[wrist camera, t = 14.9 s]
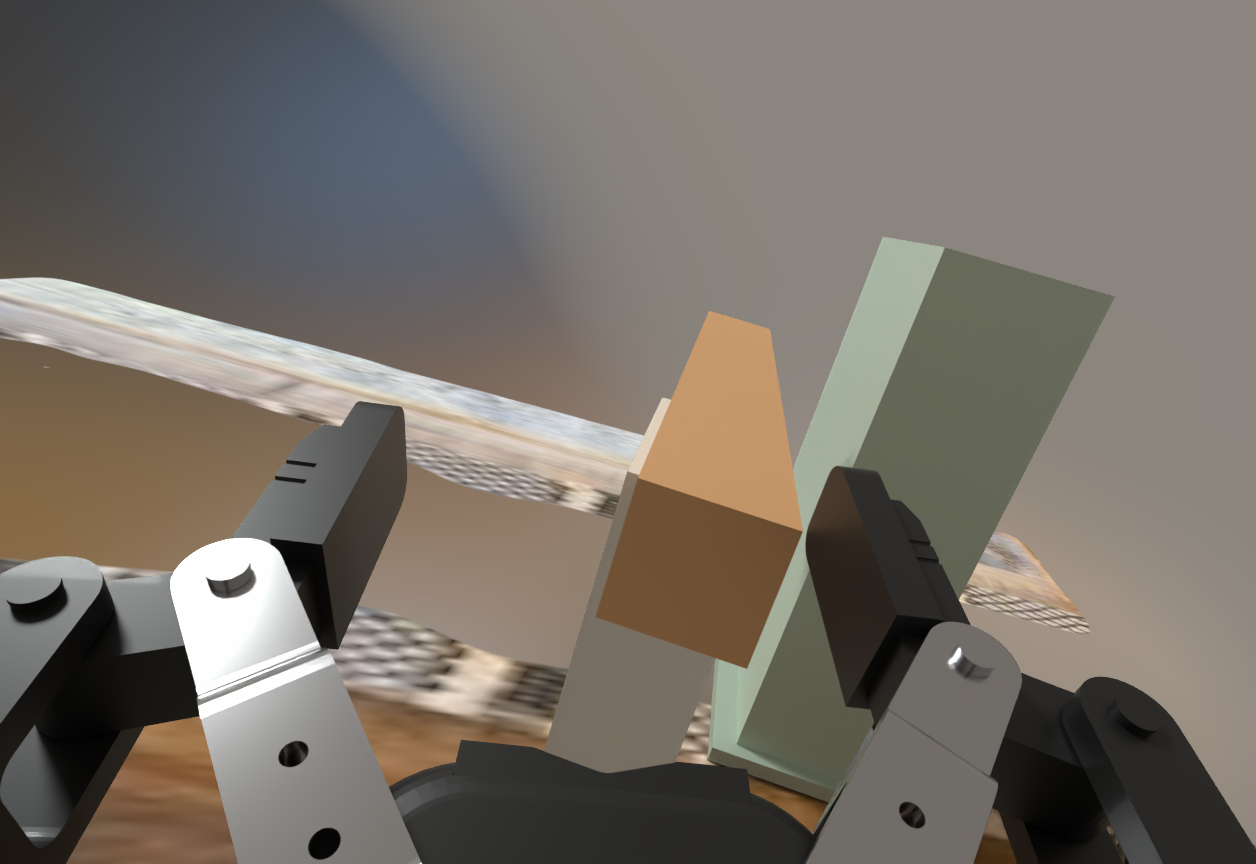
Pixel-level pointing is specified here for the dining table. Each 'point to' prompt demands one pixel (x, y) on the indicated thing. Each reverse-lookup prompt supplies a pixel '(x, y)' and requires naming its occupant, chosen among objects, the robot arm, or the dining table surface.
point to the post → (625, 675)
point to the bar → (711, 504)
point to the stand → (905, 472)
